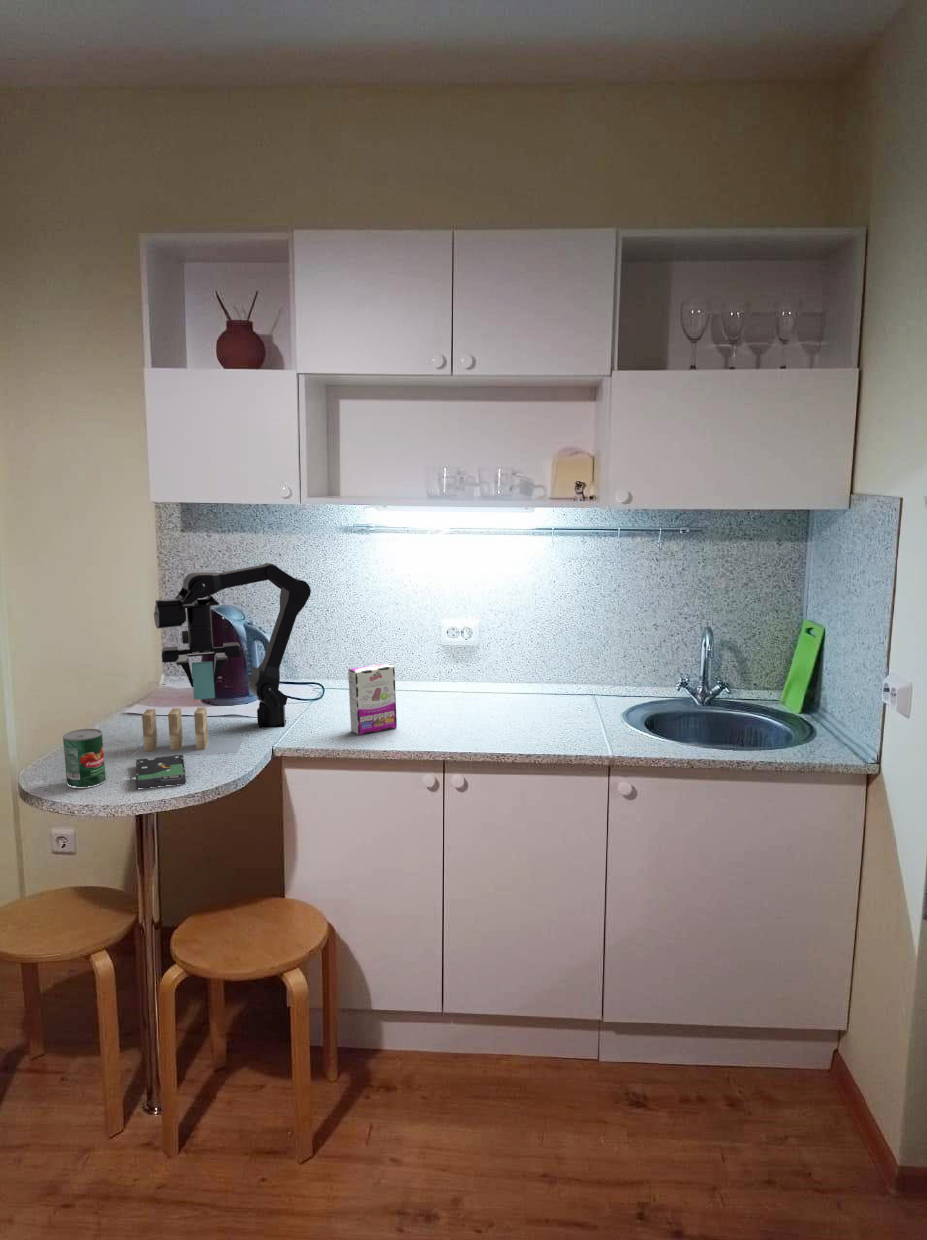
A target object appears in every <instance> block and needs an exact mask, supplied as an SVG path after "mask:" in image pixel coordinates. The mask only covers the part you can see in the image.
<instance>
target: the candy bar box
mask: <svg viewBox="0 0 927 1240" xmlns="http://www.w3.org/2000/svg"><path fill="white" fill-rule="evenodd" d="M395 671H396V670H395V665H392V664H389V663H379V664H372V665H368V666H361V667H355V668H348V669H347V675H348V694H349V695H348V696H349V715H350V716H349V717H350V731H351V732H352V733H354V734H356V735H358V736H362V735H368V734H373V733H374V734H375V733H378V732H382V731H383V732H384V731H387V730H393V729H396V728H398V727H397V725H398V723H397V720H398V719H397V700H396V699H397V698H396V673H395Z"/></svg>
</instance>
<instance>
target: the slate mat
mask: <svg viewBox="0 0 927 1240" xmlns="http://www.w3.org/2000/svg"><path fill="white" fill-rule="evenodd" d="M243 741H244V737H226V738H225V737H224V738H221V737H220V738H208V745H207V747H206V749H205V750H196V738H194V739H183V745H182V747H181V748H180V750H179V751H171V750H170V739H169V740H158V746H157V747H156V748H155V750H154V751H153V752H145V751H144V741H143V743H142V744H141V745H140V746H139V748H137V750H136V751H135V753H134V754H133V755H132V758H142V757H143V758H144V757H145V758H146V757H166V756H175V755H183V756H194V755H219V754H221V755H222V754H237V753H238V752H239V750H240V748H241V745H242V743H243Z"/></svg>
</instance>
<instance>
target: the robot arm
mask: <svg viewBox="0 0 927 1240" xmlns="http://www.w3.org/2000/svg"><path fill="white" fill-rule="evenodd" d="M264 581H268V582H270V583H272V584H273V585H274V586H276V587H277V588H278V589H279V590H280V593H279V612H278V615H277V618H276V620H275V623H274V626H273V627H274V628H273V629H272V633H271V635H270V639H269V642H268V644H267V647H266V650H265V654H264V657H263V659H262V661H261V663H260V665H258V667H257V666H254V665H253V666H252V667H251V673H250V676H249V677H248V678H247V681H248V682H249V683H248V689H249V691H250V692H251V693H252V694H253V695H254V696H255V697H256V698H257V700H258V701H259V703H258V707H257V710H256V716H257V718H256V719H257V726H258V728H259V729H268V728H269V729H270V728H271V729H272V728H273V729H274V728H285V727H286V723H287V719H286V704H287V700H288V696H287V695H285V693H283V692H282V691H281V690H279V688H280V681H281V679H280V678H281V676H280V675H281V674H280V667H281V664H282V661H283V658H284V655H285V652H286V650H287V646H288V643H289V640H290V637H291V634H292V631H293V628H294V624H295V623H296V618H297V616H298V615H299V614H300V612H301V611H302V609H303V608H304V607H305V606H306V604H307V602H308V600H309V599H310V596H311V592H312V590H311V587H310V584H309V583H308V582H307V581H305V580H302V579H300V578H297V577H293V576H291V575H290V574H288V573H287V572H286V571H283V570H282V569H281V568H280V567H278V566H277V565H276V564H274V563H270V562H265V563H263V564H260V565H254V566H249V567H244V568H239V569H233V570H228V571H227V570H226V571H224V572H223V571H221V572H201V571H200V572H191V573H188V574H187V575H186V576H185V577H184V578H183V581H182V587H181V589H180V590H179V592H178V593H177V595H176V597H175V598H174V599H157V600H155V605H154V612H153V619H154V625H155V627H156V629H166V628H177V627H182V626H183V624H185V622H187V630H183V631H181V638H182V639H181V641H182V645H188V648H187V649H186V648H185V649H179V645H178V646H164V647H162V649H161V662H162V663H167V664H168V663H176V666H181V667H182V670H183V671H184V673H185V675H186V677H187V678H188V682H189V684H190V686H191V688H193V677H192V668H191V666H190V660H189V658H192V657H204V656H205V657H207V656H214V663H213V675H214V686H216V685H217V682H218V678H219V675H220V673H221V669H222V667H223V665H224V662H228V661H229V659H230V658H231V659H232V658H240V657H242V647H241V645H240V643H238V642H237V641H236V642H235V641H234V642H223V643H222V644H223V645H222V646H215V647H214V639H213V623H212V621H213V620H212V608H211V607H213V606H214V607H215V606H219V605H220V602H219V601H217V600H216V599H215V598H214V596H213V595H215V594H217V593H218V592H220V591H223V590H226V589H229V588H235V587H238V586H239V587H240V586H244V585H248V584H254V583H259V582H264Z"/></svg>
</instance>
